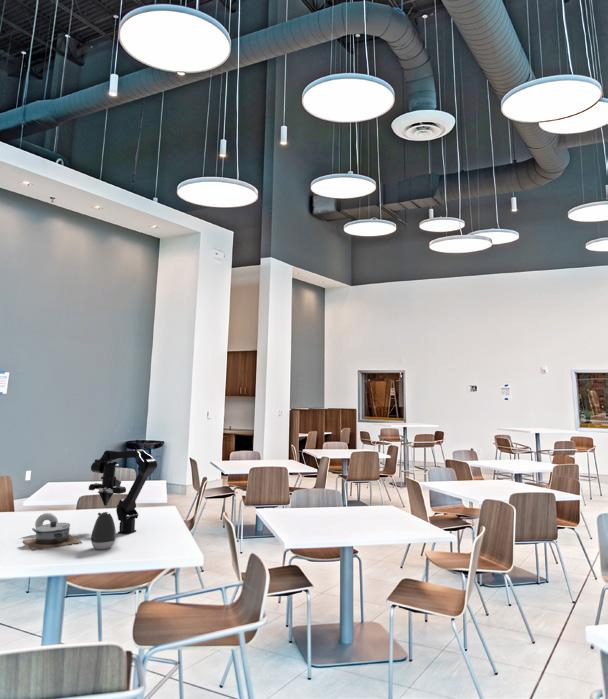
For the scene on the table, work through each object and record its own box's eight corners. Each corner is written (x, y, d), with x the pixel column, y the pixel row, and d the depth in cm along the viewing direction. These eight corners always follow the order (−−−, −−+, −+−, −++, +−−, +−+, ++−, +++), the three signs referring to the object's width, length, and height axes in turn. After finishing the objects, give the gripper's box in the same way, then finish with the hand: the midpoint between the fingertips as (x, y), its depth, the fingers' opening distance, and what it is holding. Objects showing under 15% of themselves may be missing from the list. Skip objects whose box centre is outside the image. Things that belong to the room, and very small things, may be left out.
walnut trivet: (69, 535, 243) (69, 534, 243) (81, 543, 227) (82, 542, 228) (22, 541, 230) (22, 540, 230) (32, 550, 215) (33, 548, 215)
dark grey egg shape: (107, 544, 227) (109, 509, 229) (119, 548, 220) (122, 512, 222) (85, 548, 219) (88, 512, 221) (97, 552, 213) (100, 515, 215)
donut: (33, 535, 242) (35, 514, 243) (34, 534, 245) (36, 512, 246) (56, 534, 245) (58, 512, 246) (57, 532, 248) (59, 511, 250)
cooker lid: (65, 523, 239) (65, 516, 240) (74, 528, 229) (74, 521, 229) (29, 528, 230) (30, 522, 230) (37, 534, 219) (37, 527, 219)
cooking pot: (61, 534, 242) (62, 523, 242) (75, 543, 225) (76, 531, 226) (30, 538, 233) (31, 527, 234) (41, 548, 216) (42, 535, 217)
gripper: (133, 474, 265) (130, 505, 264) (103, 471, 270) (100, 500, 269) (120, 477, 255) (117, 508, 253) (89, 473, 260) (86, 504, 258)
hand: (105, 505), depth 258 cm, fingers closed
